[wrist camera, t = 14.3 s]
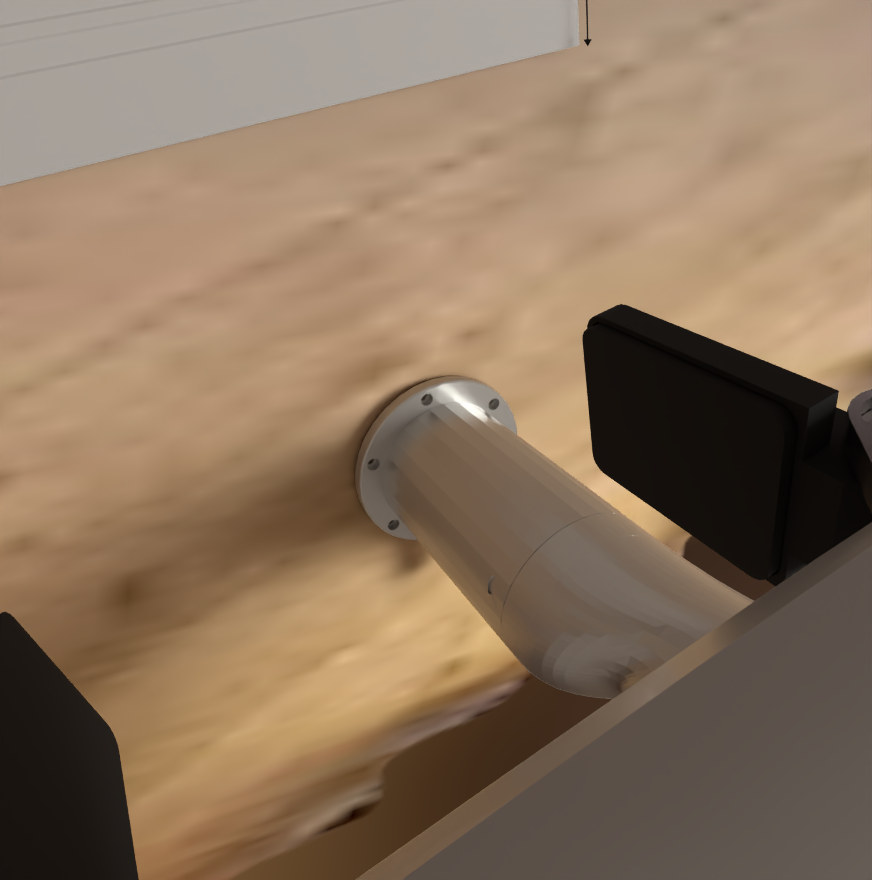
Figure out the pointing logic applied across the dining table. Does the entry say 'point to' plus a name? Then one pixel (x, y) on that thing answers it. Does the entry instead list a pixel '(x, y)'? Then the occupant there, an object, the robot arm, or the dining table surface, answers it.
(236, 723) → the dining table surface
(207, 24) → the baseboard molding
